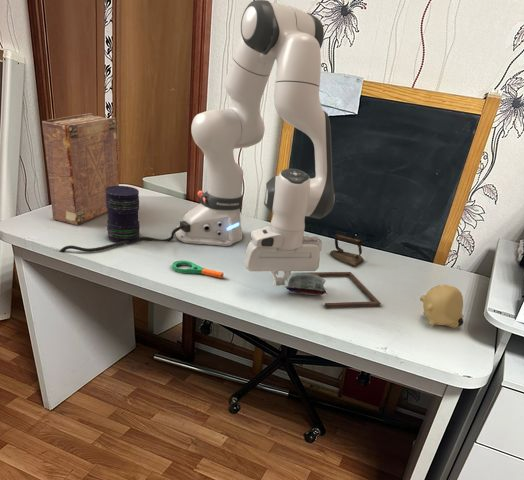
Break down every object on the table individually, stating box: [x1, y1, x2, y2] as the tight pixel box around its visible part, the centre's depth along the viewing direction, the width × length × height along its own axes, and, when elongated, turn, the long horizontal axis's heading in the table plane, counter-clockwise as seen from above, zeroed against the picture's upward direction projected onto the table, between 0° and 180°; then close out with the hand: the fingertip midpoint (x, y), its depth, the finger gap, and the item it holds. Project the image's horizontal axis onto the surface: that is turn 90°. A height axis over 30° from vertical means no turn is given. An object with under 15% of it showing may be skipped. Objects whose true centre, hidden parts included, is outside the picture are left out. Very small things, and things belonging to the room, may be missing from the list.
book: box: [41, 112, 120, 226], centre depth 165 cm, size 25×9×30 cm, turn 162°
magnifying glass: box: [171, 260, 224, 279], centre depth 141 cm, size 15×6×2 cm, turn 71°
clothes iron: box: [329, 233, 365, 268], centre depth 161 cm, size 7×11×10 cm, turn 57°
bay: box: [300, 271, 382, 309], centre depth 142 cm, size 16×20×1 cm
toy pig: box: [419, 284, 464, 328], centre depth 130 cm, size 10×12×11 cm
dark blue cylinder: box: [105, 185, 141, 245], centre depth 153 cm, size 10×10×15 cm
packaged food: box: [285, 271, 328, 296], centre depth 138 cm, size 9×12×5 cm
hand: (279, 284), depth 136 cm, fingers closed
